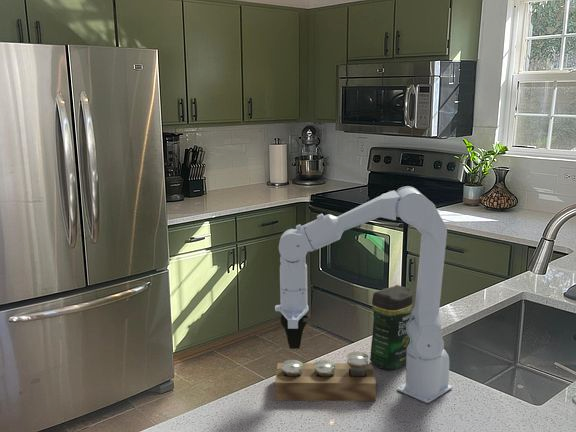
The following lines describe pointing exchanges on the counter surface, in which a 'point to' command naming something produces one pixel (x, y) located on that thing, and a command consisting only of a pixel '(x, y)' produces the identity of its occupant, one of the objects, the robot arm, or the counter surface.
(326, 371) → the middle knob
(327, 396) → the block
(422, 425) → the counter surface
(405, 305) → the coffee jar
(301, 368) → the knob
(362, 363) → the knob
